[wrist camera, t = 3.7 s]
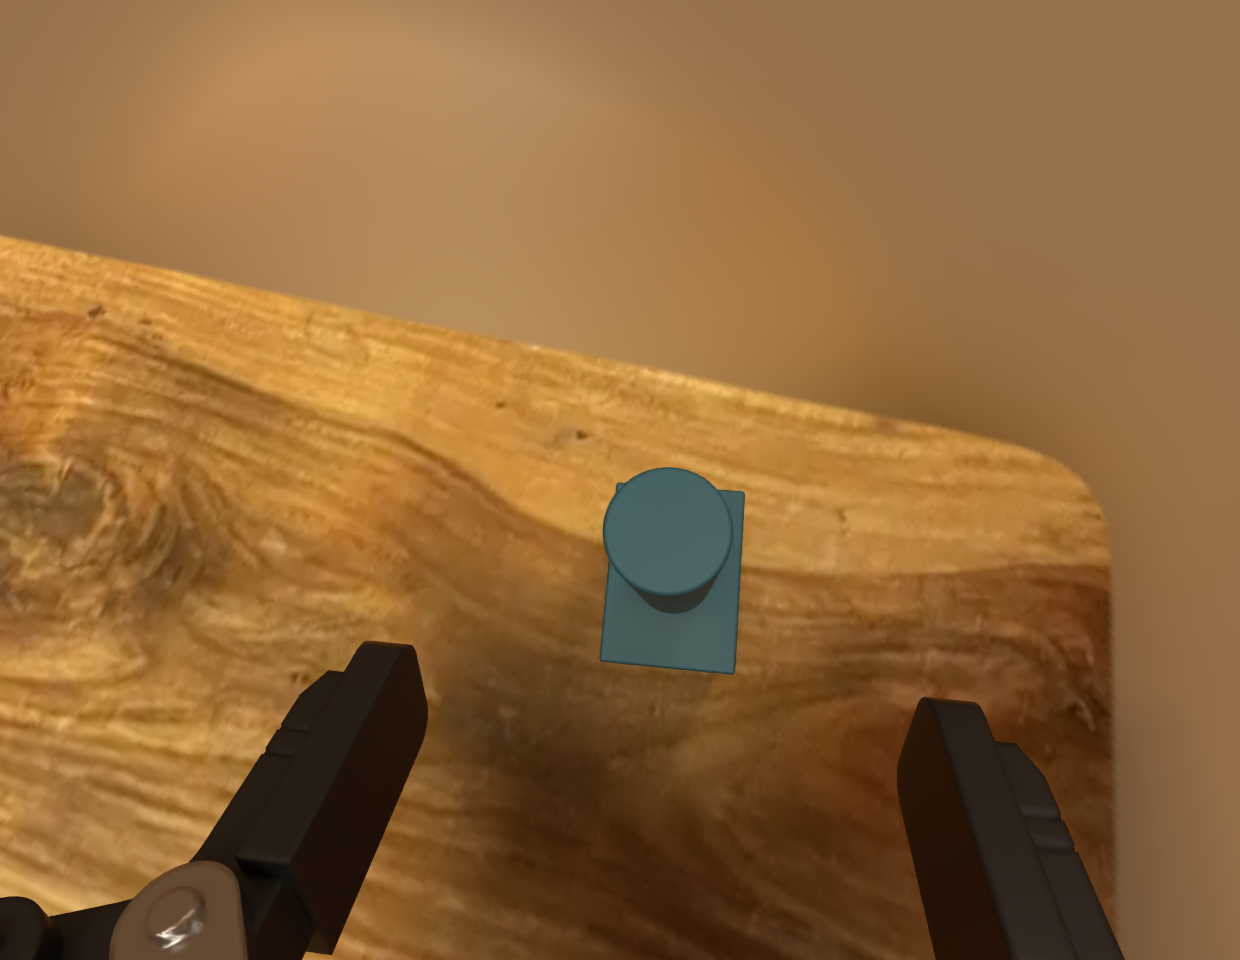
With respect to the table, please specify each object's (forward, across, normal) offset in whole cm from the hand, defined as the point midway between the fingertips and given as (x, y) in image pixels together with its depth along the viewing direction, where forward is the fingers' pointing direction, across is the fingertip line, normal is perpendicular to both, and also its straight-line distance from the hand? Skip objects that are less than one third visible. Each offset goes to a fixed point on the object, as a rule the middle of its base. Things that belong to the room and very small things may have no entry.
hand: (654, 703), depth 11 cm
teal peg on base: (+10, 0, +6) cm, 12 cm away
